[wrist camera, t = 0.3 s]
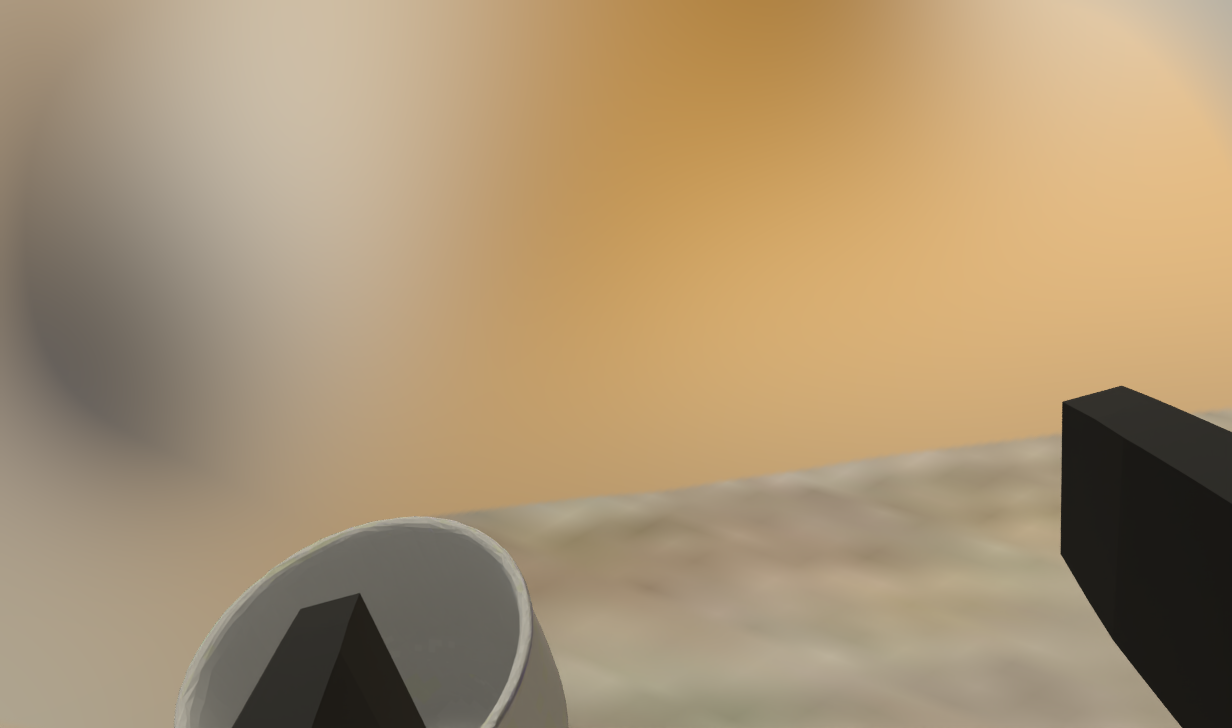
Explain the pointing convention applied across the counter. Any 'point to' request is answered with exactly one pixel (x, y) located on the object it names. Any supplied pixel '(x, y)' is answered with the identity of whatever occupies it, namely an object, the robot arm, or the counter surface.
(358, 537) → the teacup
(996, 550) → the counter surface
